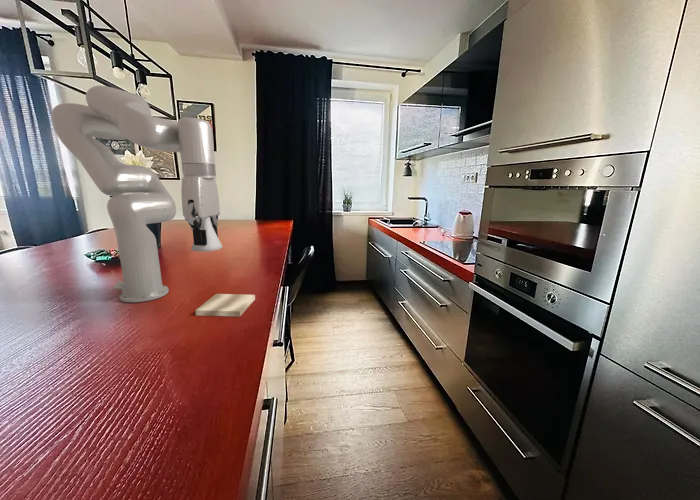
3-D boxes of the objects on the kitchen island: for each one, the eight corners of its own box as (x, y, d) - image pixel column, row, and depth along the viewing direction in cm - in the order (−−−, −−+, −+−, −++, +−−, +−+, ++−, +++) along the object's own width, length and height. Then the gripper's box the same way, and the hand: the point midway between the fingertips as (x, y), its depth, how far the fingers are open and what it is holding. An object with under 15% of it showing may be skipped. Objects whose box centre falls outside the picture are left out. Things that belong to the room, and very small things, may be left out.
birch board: (195, 315, 79) (195, 310, 79) (216, 298, 91) (216, 293, 90) (240, 316, 79) (239, 311, 79) (255, 299, 91) (254, 294, 90)
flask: (209, 253, 74) (205, 213, 72) (185, 251, 76) (181, 212, 73) (227, 247, 81) (224, 211, 79) (205, 246, 82) (201, 210, 80)
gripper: (203, 173, 82) (209, 237, 86) (162, 170, 66) (172, 249, 70) (229, 173, 82) (234, 237, 86) (194, 170, 65) (202, 250, 69)
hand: (206, 242), depth 78 cm, fingers closed on flask, 4 cm apart
